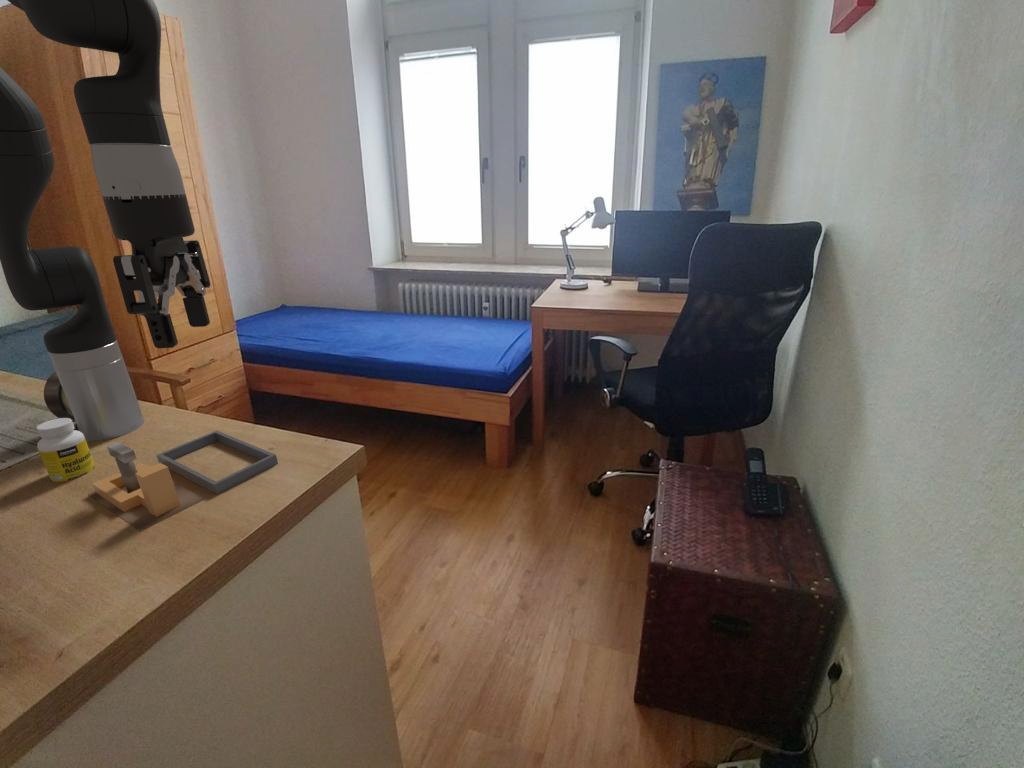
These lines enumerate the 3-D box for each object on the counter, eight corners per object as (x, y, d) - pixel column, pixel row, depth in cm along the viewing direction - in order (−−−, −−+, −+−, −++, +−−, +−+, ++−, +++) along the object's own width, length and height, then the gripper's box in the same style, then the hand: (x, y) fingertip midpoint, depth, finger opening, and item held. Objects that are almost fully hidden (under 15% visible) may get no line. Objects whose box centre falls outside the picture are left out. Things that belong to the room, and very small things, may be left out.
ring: (95, 492, 71) (81, 455, 69) (145, 471, 76) (133, 436, 74) (142, 523, 64) (127, 484, 62) (193, 498, 69) (181, 460, 67)
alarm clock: (76, 438, 91) (42, 353, 85) (52, 436, 92) (17, 352, 86) (130, 412, 101) (103, 335, 94) (108, 410, 102) (80, 334, 96)
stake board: (91, 503, 71) (70, 451, 68) (152, 476, 78) (135, 428, 74) (144, 540, 63) (123, 484, 60) (207, 507, 70) (191, 455, 66)
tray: (161, 471, 79) (156, 455, 78) (221, 445, 86) (216, 430, 85) (219, 502, 71) (214, 484, 69) (279, 471, 78) (275, 454, 77)
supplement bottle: (71, 492, 74) (46, 433, 70) (45, 487, 76) (19, 429, 72) (107, 473, 79) (85, 417, 75) (82, 468, 80) (59, 414, 77)
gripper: (143, 190, 60) (180, 321, 66) (60, 194, 47) (115, 357, 53) (209, 189, 61) (239, 319, 67) (146, 193, 48) (190, 353, 54)
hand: (184, 335), depth 60 cm, fingers open, 8 cm apart
